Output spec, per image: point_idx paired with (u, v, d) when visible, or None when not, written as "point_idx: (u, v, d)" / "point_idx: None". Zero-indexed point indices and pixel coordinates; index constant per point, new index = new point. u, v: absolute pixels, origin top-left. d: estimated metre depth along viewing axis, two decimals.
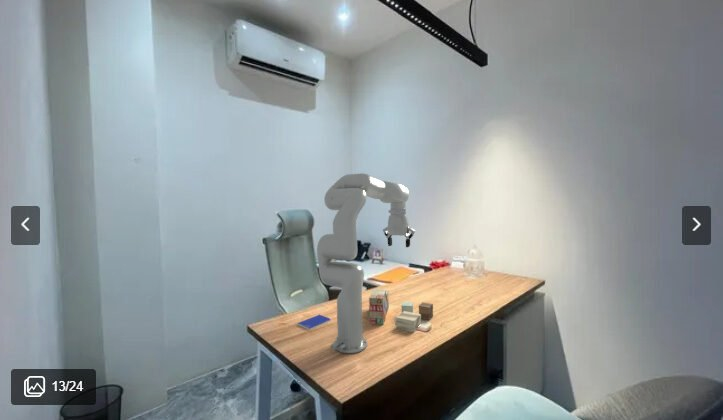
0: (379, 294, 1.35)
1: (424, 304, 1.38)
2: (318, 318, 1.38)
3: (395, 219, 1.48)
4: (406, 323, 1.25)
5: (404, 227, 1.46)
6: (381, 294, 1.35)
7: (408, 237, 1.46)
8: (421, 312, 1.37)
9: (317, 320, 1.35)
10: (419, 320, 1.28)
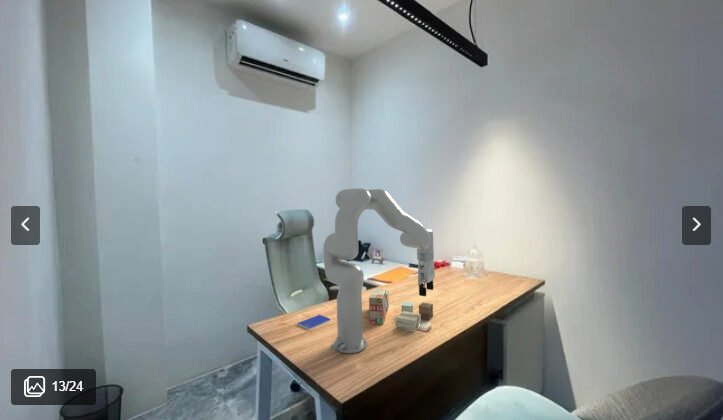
0: (379, 294, 1.36)
1: (424, 304, 1.38)
2: (318, 318, 1.38)
3: (431, 263, 1.36)
4: (407, 323, 1.25)
5: None
6: (381, 294, 1.35)
7: None
8: (421, 312, 1.37)
9: (317, 320, 1.35)
10: (419, 320, 1.29)
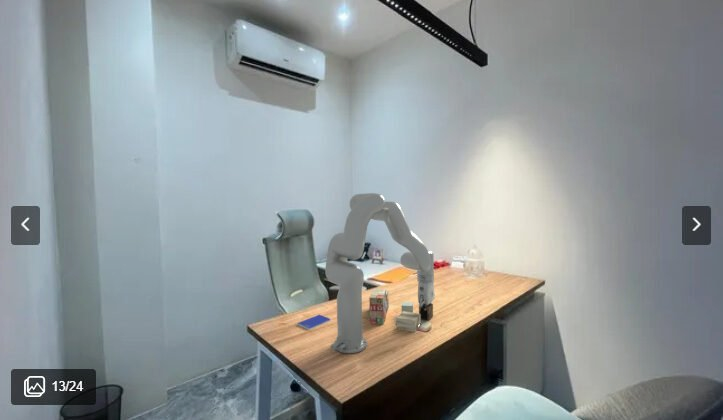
0: (379, 294, 1.36)
1: None
2: (318, 318, 1.38)
3: (431, 284, 1.36)
4: (407, 323, 1.25)
5: None
6: (381, 294, 1.36)
7: (431, 303, 1.41)
8: None
9: (317, 320, 1.35)
10: (419, 320, 1.29)
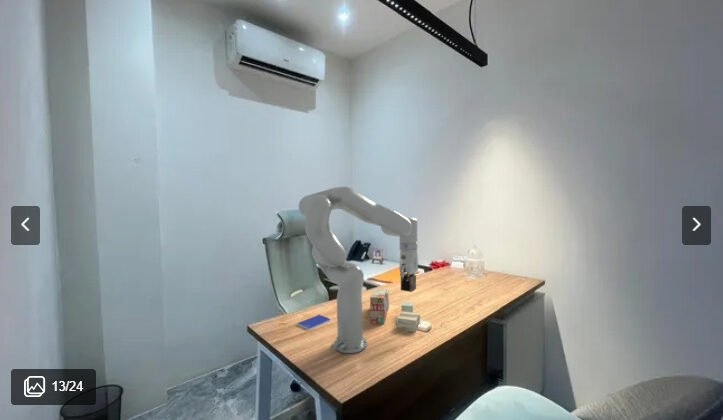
0: (380, 293, 1.36)
1: None
2: (318, 318, 1.38)
3: (414, 254, 1.26)
4: (408, 323, 1.25)
5: (417, 261, 1.30)
6: (382, 293, 1.36)
7: None
8: None
9: (317, 320, 1.35)
10: (419, 319, 1.29)
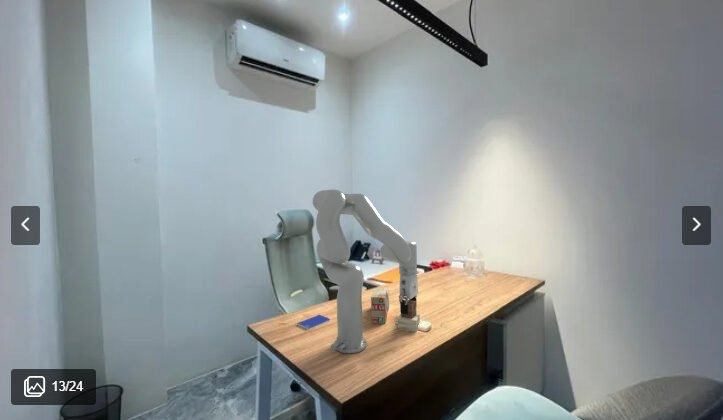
0: (381, 293, 1.36)
1: None
2: (318, 318, 1.38)
3: (414, 278, 1.26)
4: (408, 323, 1.25)
5: (417, 284, 1.30)
6: (383, 293, 1.36)
7: (416, 294, 1.33)
8: None
9: (316, 320, 1.35)
10: (419, 319, 1.29)
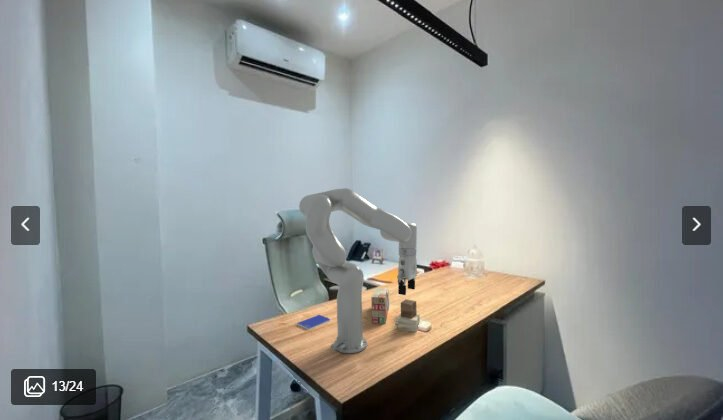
0: (381, 293, 1.36)
1: (407, 301, 1.29)
2: (318, 318, 1.38)
3: (413, 259, 1.26)
4: (408, 323, 1.25)
5: (416, 267, 1.30)
6: (383, 293, 1.36)
7: None
8: (403, 310, 1.28)
9: (316, 320, 1.35)
10: (418, 319, 1.29)
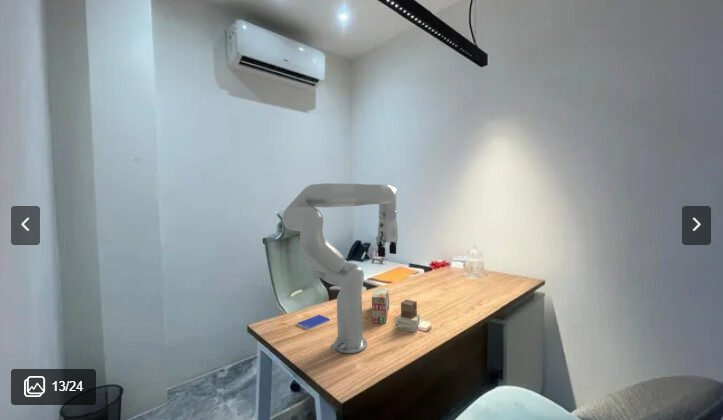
0: (381, 293, 1.37)
1: (407, 301, 1.29)
2: (318, 318, 1.38)
3: (393, 222, 1.27)
4: (408, 323, 1.25)
5: (397, 231, 1.31)
6: (383, 293, 1.36)
7: (396, 242, 1.33)
8: (403, 310, 1.27)
9: (316, 320, 1.35)
10: (419, 319, 1.29)
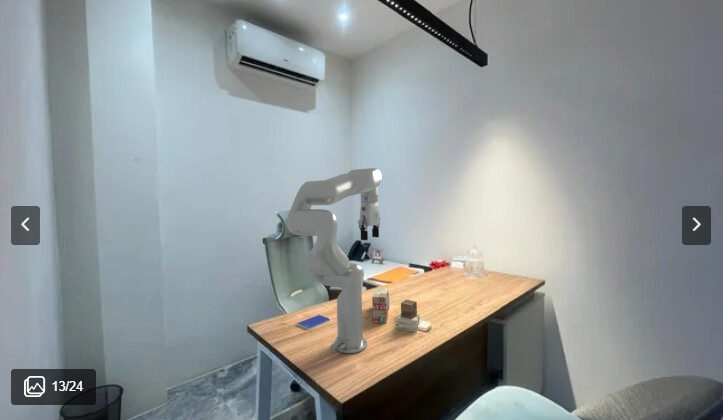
0: (382, 293, 1.37)
1: (407, 301, 1.29)
2: (317, 318, 1.38)
3: (374, 206, 1.28)
4: (408, 323, 1.25)
5: (379, 215, 1.32)
6: (384, 293, 1.37)
7: None
8: (403, 310, 1.27)
9: (316, 320, 1.35)
10: (418, 319, 1.29)
